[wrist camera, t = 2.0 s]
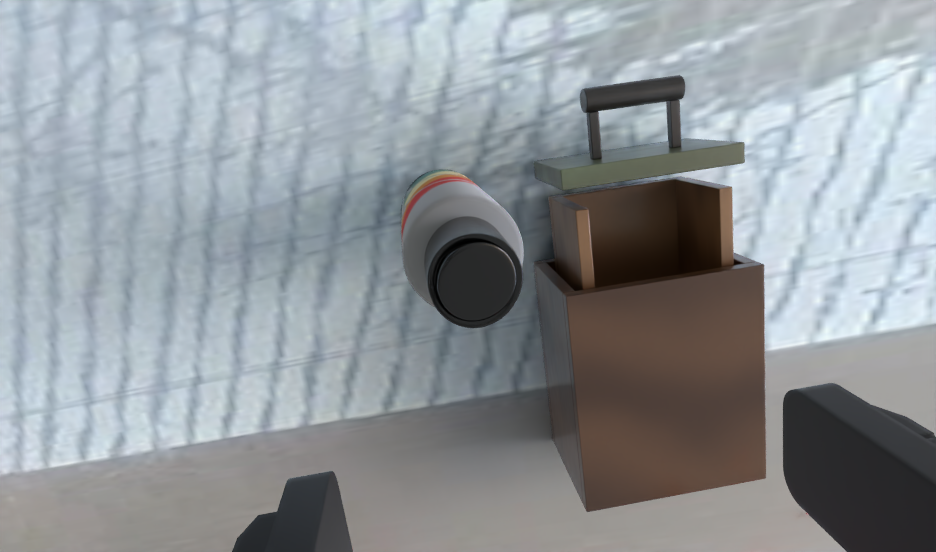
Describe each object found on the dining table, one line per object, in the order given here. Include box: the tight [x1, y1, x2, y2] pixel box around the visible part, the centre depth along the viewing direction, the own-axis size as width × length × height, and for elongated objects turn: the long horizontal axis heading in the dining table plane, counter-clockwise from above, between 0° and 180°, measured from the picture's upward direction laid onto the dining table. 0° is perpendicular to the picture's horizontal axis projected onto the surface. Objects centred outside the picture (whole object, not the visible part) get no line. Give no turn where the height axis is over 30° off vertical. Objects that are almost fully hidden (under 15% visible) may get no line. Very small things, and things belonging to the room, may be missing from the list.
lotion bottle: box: [401, 170, 524, 328], centre depth 33 cm, size 6×6×20 cm
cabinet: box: [533, 252, 766, 512], centre depth 42 cm, size 15×12×9 cm
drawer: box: [534, 75, 745, 291], centre depth 40 cm, size 18×11×7 cm, turn 8°
